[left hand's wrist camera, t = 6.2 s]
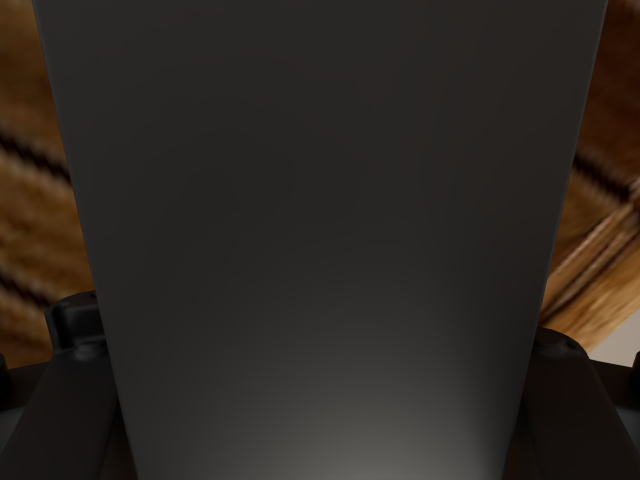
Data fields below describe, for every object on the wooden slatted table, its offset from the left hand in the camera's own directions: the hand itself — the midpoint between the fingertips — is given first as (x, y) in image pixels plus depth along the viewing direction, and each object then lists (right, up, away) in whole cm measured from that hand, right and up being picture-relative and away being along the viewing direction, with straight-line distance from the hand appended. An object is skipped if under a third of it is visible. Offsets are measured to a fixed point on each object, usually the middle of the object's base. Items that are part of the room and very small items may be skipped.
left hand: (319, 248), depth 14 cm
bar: (0, +9, -3) cm, 9 cm away
